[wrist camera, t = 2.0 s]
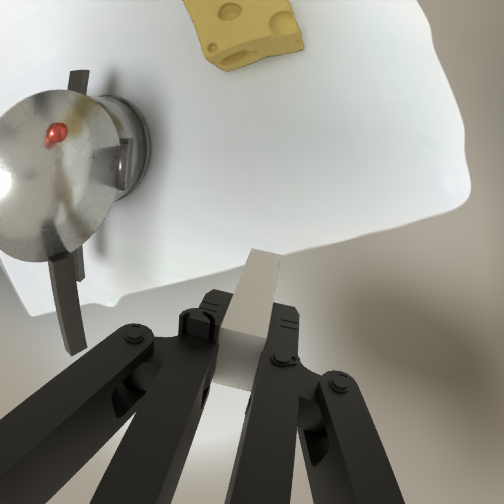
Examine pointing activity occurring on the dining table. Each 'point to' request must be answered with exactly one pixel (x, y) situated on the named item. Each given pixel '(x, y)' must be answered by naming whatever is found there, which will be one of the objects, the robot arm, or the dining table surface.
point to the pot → (129, 132)
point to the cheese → (244, 30)
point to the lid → (58, 188)
